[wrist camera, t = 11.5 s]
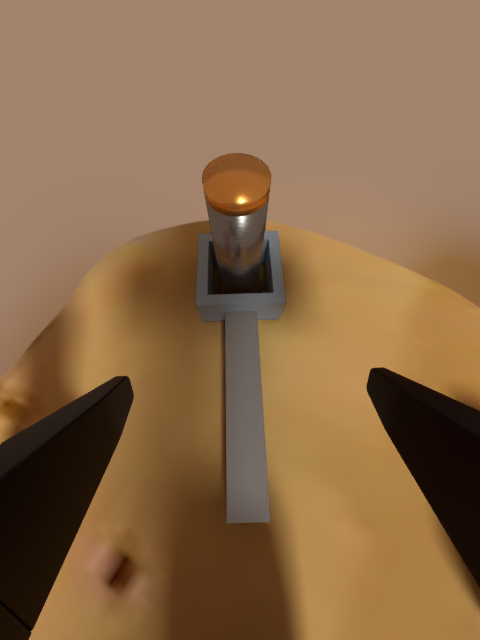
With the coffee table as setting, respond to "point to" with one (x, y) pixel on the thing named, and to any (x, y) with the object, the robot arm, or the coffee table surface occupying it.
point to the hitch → (243, 375)
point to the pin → (237, 218)
